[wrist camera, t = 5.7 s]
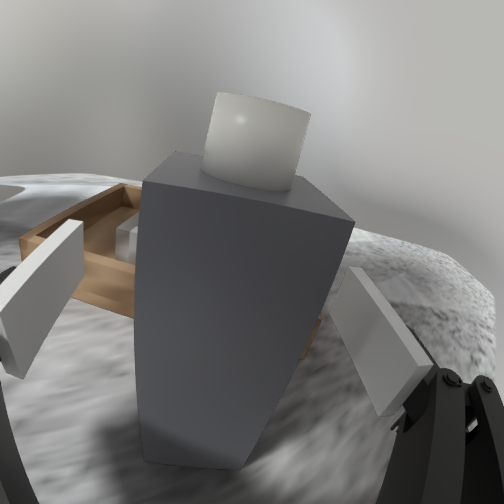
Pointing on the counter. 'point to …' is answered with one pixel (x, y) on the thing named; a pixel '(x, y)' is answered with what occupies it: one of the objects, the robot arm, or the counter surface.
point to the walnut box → (106, 248)
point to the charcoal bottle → (228, 283)
